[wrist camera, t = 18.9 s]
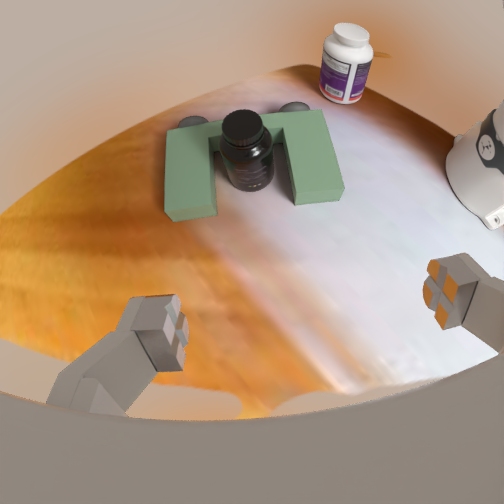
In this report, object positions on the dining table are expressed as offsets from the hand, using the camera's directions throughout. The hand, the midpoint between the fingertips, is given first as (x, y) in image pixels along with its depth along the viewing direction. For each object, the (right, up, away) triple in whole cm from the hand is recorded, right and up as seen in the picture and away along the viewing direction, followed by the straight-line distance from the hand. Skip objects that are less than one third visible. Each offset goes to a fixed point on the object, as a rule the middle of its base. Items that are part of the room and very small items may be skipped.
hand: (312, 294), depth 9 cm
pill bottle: (+14, +30, +37) cm, 50 cm away
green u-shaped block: (-2, +14, +34) cm, 37 cm away
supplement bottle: (-2, +13, +34) cm, 37 cm away
